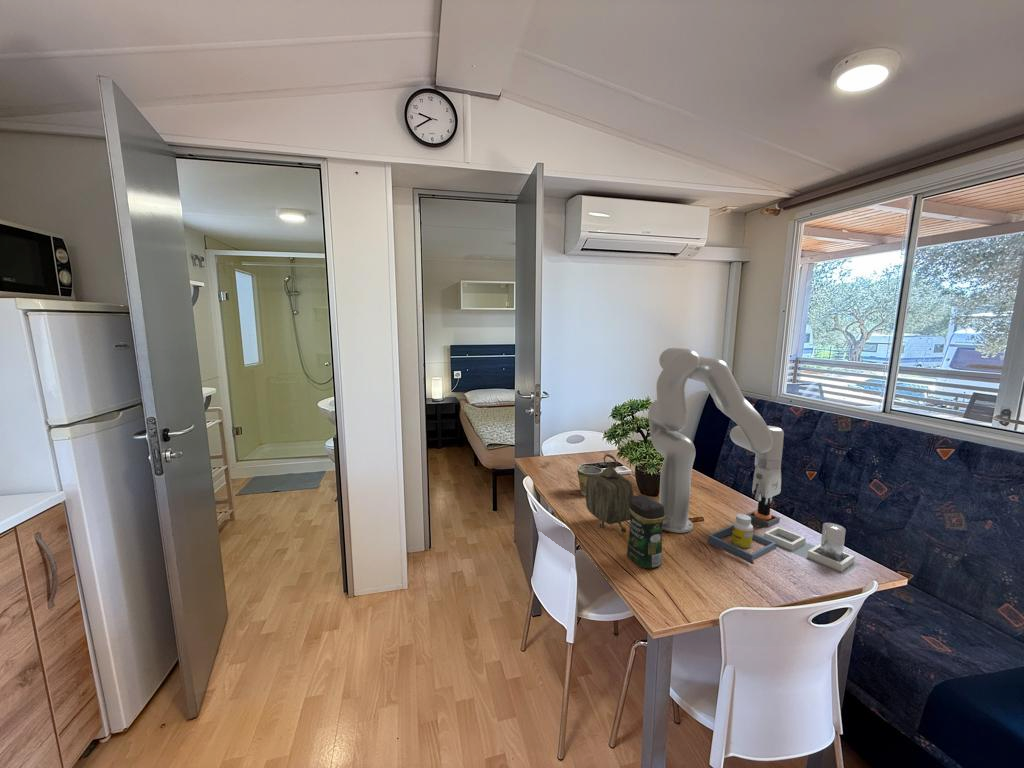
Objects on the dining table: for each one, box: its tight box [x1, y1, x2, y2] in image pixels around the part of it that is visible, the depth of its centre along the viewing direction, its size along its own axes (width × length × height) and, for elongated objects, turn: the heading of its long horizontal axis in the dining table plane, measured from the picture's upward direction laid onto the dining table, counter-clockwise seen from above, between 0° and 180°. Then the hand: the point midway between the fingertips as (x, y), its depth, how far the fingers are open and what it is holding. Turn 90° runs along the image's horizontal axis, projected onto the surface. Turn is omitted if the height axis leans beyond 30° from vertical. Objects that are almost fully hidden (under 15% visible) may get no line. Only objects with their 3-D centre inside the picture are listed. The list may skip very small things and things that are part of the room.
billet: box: [820, 522, 847, 562], centre depth 113 cm, size 5×5×10 cm
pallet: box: [761, 526, 860, 575], centre depth 118 cm, size 10×22×3 cm, turn 31°
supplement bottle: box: [731, 513, 754, 549], centre depth 121 cm, size 5×5×10 cm
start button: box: [754, 510, 772, 521], centre depth 137 cm, size 5×5×2 cm
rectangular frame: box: [707, 524, 777, 564], centre depth 122 cm, size 13×13×2 cm
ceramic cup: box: [576, 465, 605, 497], centre depth 162 cm, size 13×10×10 cm
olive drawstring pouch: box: [585, 454, 634, 534], centre depth 132 cm, size 14×9×25 cm, turn 23°
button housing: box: [745, 509, 781, 529], centre depth 137 cm, size 7×7×2 cm
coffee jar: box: [626, 494, 665, 570], centre depth 113 cm, size 10×8×19 cm
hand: (763, 513), depth 137 cm, fingers closed
